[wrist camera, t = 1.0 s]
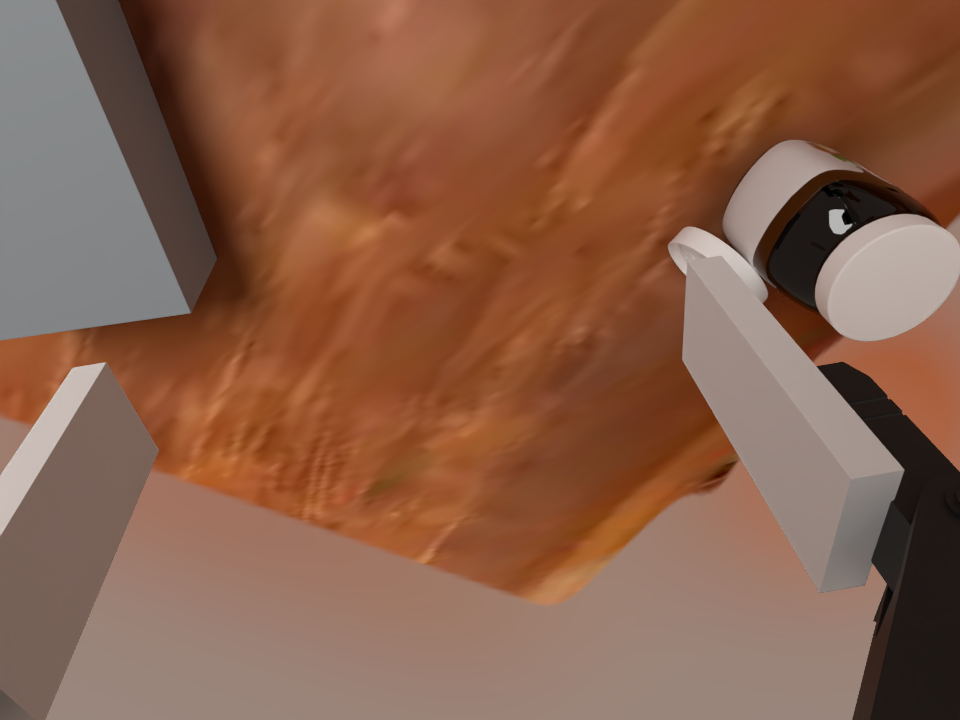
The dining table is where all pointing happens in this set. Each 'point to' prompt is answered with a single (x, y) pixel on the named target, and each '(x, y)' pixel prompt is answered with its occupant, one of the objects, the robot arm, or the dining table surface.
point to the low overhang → (88, 178)
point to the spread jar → (832, 242)
